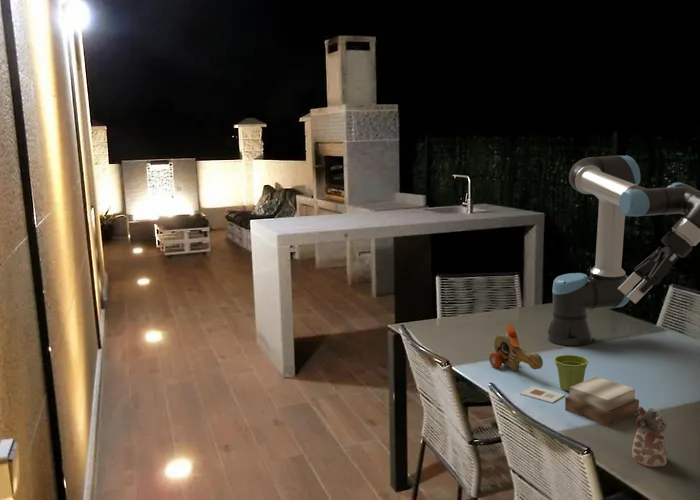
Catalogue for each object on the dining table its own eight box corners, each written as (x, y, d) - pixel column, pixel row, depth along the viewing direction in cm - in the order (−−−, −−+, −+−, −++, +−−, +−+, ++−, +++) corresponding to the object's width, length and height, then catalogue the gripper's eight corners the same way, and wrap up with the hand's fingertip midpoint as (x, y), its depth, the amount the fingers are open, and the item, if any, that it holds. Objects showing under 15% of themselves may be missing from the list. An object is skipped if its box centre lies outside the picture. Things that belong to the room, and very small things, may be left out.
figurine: (661, 470, 139) (663, 418, 137) (627, 460, 143) (628, 410, 141) (670, 457, 144) (673, 407, 142) (638, 448, 148) (639, 399, 146)
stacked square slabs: (565, 409, 171) (565, 386, 170) (595, 397, 178) (595, 375, 177) (608, 426, 160) (608, 401, 159) (638, 412, 167) (639, 388, 166)
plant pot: (548, 383, 190) (549, 355, 188) (579, 381, 190) (580, 353, 189) (561, 395, 180) (562, 366, 179) (594, 393, 181) (594, 364, 180)
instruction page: (520, 394, 183) (520, 392, 183) (533, 387, 188) (533, 385, 188) (552, 403, 176) (552, 401, 176) (564, 395, 180) (564, 394, 180)
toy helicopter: (506, 360, 211) (506, 319, 209) (551, 379, 193) (551, 335, 191) (486, 364, 208) (486, 323, 206) (530, 384, 189) (530, 340, 187)
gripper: (707, 252, 162) (646, 313, 166) (680, 243, 186) (628, 296, 190) (683, 233, 162) (624, 294, 167) (659, 226, 186) (608, 280, 191)
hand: (626, 296), depth 179 cm, fingers open, 13 cm apart
